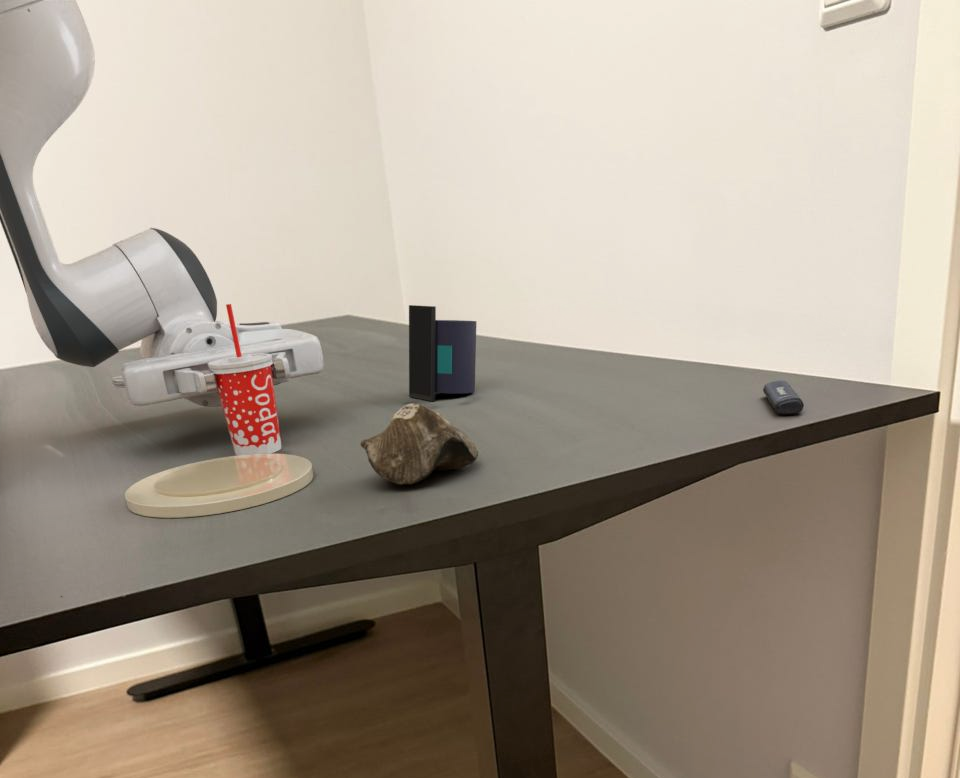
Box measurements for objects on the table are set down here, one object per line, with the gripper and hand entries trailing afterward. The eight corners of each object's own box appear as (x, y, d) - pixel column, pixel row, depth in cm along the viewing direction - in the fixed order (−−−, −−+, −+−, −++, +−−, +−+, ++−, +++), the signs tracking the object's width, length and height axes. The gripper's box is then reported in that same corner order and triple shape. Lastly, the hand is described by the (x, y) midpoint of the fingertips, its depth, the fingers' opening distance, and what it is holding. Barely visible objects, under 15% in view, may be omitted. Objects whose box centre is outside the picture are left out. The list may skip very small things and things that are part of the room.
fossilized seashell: (451, 426, 85) (350, 467, 82) (451, 368, 80) (343, 410, 77) (495, 481, 82) (392, 526, 79) (499, 424, 76) (388, 470, 73)
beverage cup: (242, 462, 92) (209, 310, 86) (218, 453, 96) (185, 308, 90) (299, 448, 95) (271, 300, 89) (273, 440, 99) (245, 299, 94)
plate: (98, 525, 77) (93, 510, 76) (163, 472, 91) (159, 459, 91) (293, 508, 76) (290, 492, 75) (327, 457, 90) (325, 443, 90)
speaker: (417, 402, 109) (413, 306, 105) (408, 397, 114) (405, 305, 110) (482, 399, 110) (480, 304, 107) (470, 394, 116) (469, 303, 112)
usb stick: (762, 396, 95) (762, 380, 94) (789, 394, 94) (790, 378, 94) (774, 417, 86) (775, 400, 86) (804, 415, 86) (805, 398, 85)
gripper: (100, 349, 97) (128, 360, 86) (289, 319, 106) (337, 325, 95) (116, 411, 100) (145, 429, 89) (299, 377, 108) (347, 389, 97)
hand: (246, 375), depth 92 cm, fingers closed on beverage cup, 6 cm apart
